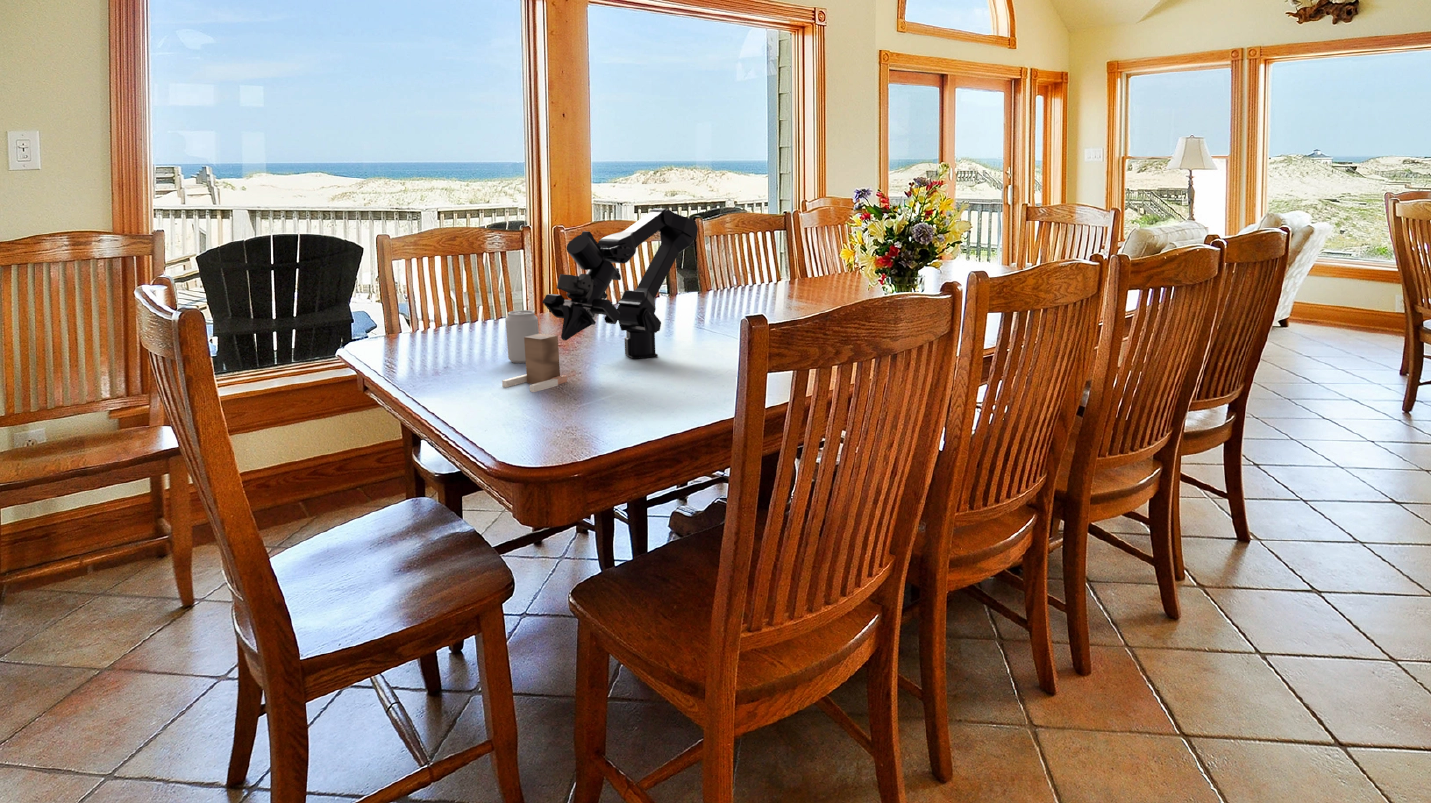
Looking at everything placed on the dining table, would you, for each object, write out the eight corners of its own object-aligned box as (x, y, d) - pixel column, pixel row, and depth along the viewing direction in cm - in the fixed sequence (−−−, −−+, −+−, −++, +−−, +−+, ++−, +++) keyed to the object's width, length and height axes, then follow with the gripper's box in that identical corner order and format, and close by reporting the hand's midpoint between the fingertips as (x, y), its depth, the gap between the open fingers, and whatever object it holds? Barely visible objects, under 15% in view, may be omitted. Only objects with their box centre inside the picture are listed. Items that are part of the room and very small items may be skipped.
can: (533, 365, 224) (530, 314, 221) (503, 364, 226) (499, 313, 223) (545, 358, 231) (542, 309, 228) (515, 357, 233) (512, 308, 230)
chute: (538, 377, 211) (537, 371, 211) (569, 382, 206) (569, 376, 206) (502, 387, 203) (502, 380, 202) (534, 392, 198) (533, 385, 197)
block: (543, 378, 209) (541, 333, 207) (560, 381, 207) (557, 335, 204) (527, 382, 206) (524, 337, 203) (543, 385, 203) (540, 339, 200)
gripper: (546, 258, 215) (512, 313, 209) (608, 262, 204) (575, 320, 198) (572, 289, 223) (540, 343, 217) (633, 294, 212) (602, 351, 206)
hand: (563, 339), depth 209 cm, fingers closed
